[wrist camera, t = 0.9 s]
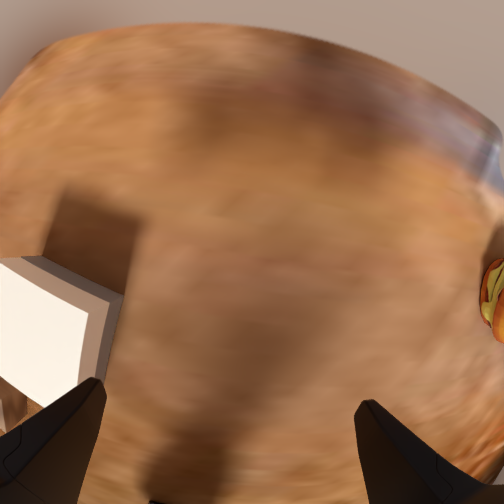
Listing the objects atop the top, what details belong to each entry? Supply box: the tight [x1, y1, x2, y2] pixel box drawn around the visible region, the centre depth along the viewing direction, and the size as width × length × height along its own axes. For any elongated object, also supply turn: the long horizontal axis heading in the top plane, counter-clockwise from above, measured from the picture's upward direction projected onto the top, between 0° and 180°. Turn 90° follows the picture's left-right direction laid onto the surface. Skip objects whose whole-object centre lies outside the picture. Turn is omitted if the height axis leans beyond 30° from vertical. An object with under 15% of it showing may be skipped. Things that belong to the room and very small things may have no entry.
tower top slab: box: [0, 257, 110, 408], centre depth 14 cm, size 9×9×4 cm
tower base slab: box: [21, 256, 124, 385], centre depth 18 cm, size 9×9×4 cm
